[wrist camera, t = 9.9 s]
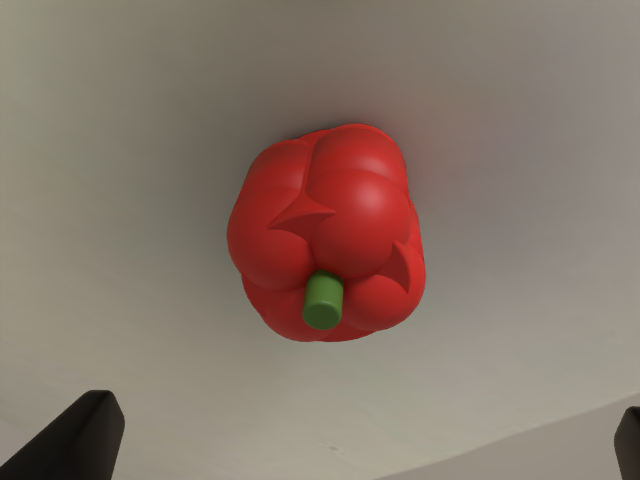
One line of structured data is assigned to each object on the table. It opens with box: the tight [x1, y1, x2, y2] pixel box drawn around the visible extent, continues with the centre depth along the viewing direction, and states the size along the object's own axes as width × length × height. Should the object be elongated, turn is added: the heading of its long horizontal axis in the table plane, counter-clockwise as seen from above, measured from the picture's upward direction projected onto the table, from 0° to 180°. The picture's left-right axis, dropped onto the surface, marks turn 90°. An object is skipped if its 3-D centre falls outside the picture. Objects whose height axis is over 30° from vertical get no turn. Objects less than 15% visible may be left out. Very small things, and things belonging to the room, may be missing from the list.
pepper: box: [227, 124, 426, 342], centre depth 15 cm, size 6×6×7 cm
